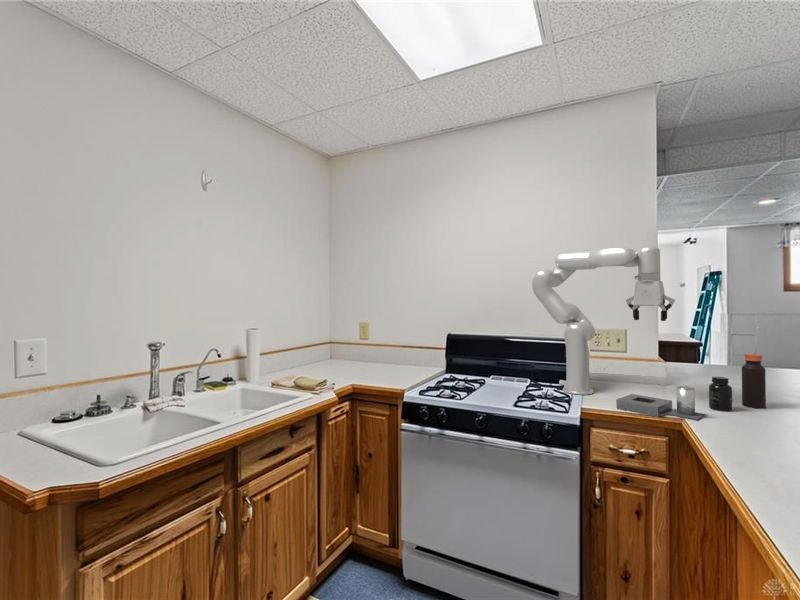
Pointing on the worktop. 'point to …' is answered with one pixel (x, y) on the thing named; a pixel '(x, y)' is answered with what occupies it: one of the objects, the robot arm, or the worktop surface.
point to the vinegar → (753, 382)
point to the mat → (695, 417)
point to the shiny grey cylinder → (685, 400)
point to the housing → (644, 405)
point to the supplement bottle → (720, 394)
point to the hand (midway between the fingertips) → (649, 320)
